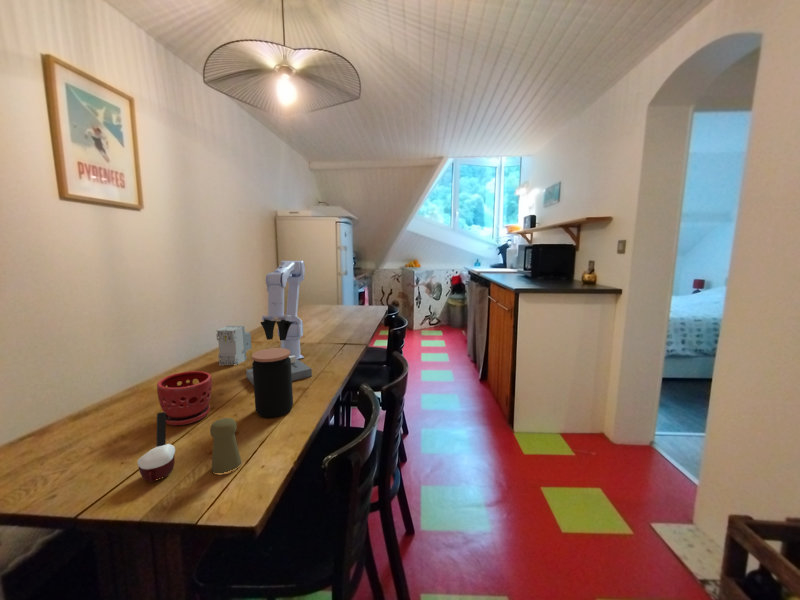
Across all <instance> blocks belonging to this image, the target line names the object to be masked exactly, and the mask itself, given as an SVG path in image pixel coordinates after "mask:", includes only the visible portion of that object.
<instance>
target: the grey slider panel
mask: <svg viewBox="0 0 800 600" xmlns="http://www.w3.org/2000/svg"><path fill="white" fill-rule="evenodd" d="M312 370H313V369H312V367H310V366H309V365H307V364H306V363H305V362H303V361H302V360H301V359H296V362H295V363H291V372H292V382H293V381H297V380H303V379H306V378H310V377H312V376H313V373H312V372H313V371H312ZM245 372H246V379H247V380H248V381H249V382H250V383H251V384H252V386H253V387H254V381H253V369H251V368H248V369H245Z"/></svg>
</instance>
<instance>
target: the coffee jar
mask: <svg viewBox="0 0 800 600" xmlns="http://www.w3.org/2000/svg"><path fill="white" fill-rule="evenodd" d="M289 356H290V350H288V349H284V348H281V347H271V348H264V349H260V350H257V351H255V352H253V353H252V354H251V358H252V359H251V360H252V364H251V365H252V366H251V367H253V381H254V386H253V393H254V394H253V395H254V405H255V406H254V407H255V413H256V414H257V415H258V416H259V417H261V418H263V419H275V418H280V417H283V416H285V415H287V414H289V412H290V411H291V410H292V408H293V405H294V395H293V393H294V392H293V381H292V372H291V359H290V357H289Z"/></svg>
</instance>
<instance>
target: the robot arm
mask: <svg viewBox="0 0 800 600" xmlns="http://www.w3.org/2000/svg"><path fill="white" fill-rule="evenodd" d="M305 267H306V266H305V262H304V260H281V262H280V264H279V265H278V266H277V268H276V269H274V271H273V272H268V273H267V274H266V276H265V284H266V292H267V294H268V295H267V315H261V321H260V324H261V326H262V328H263V330H264V334H265V337H266V340H267V341H268V340H273V338H274V329H275V327H276V326H275V325H277V335H278V337H279V341H280V348H284V349H288V350H290V356H296V359H298V360H301V359H304V358H305V356H304V355H303V354H301V338H302V337H303V335H304V321H303V319H301V318H300V317H299V316H298V310H299V295H300V285H301V282H303V281H304V279H305V276H306V275H305V274H306V273H305V272H306V268H305ZM287 283H288V289H287V298H286V299H287V301H286V311H285V288H286V287H287ZM285 312H286V313H285Z"/></svg>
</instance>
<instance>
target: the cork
mask: <svg viewBox="0 0 800 600" xmlns="http://www.w3.org/2000/svg"><path fill="white" fill-rule="evenodd" d="M237 426H238V425H237V422H236V420H235V419H234V418H232V417H223V418H220V419H218V420H215V421H214V422H213V423H212V424H211V426H210V428H209V433H210V436H211V437H212V438H213V442H212V443H213V444H212V458H211V459H212V460H211V472H212V471H213V472H214V473H224V472H228V471H230V470H233V469H235V468H237V467H238V466H239V465H240V464H241V462H242V459H241V455H240V450H239V447H238V442H237V439H236V432H237ZM241 465H242V464H241Z"/></svg>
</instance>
